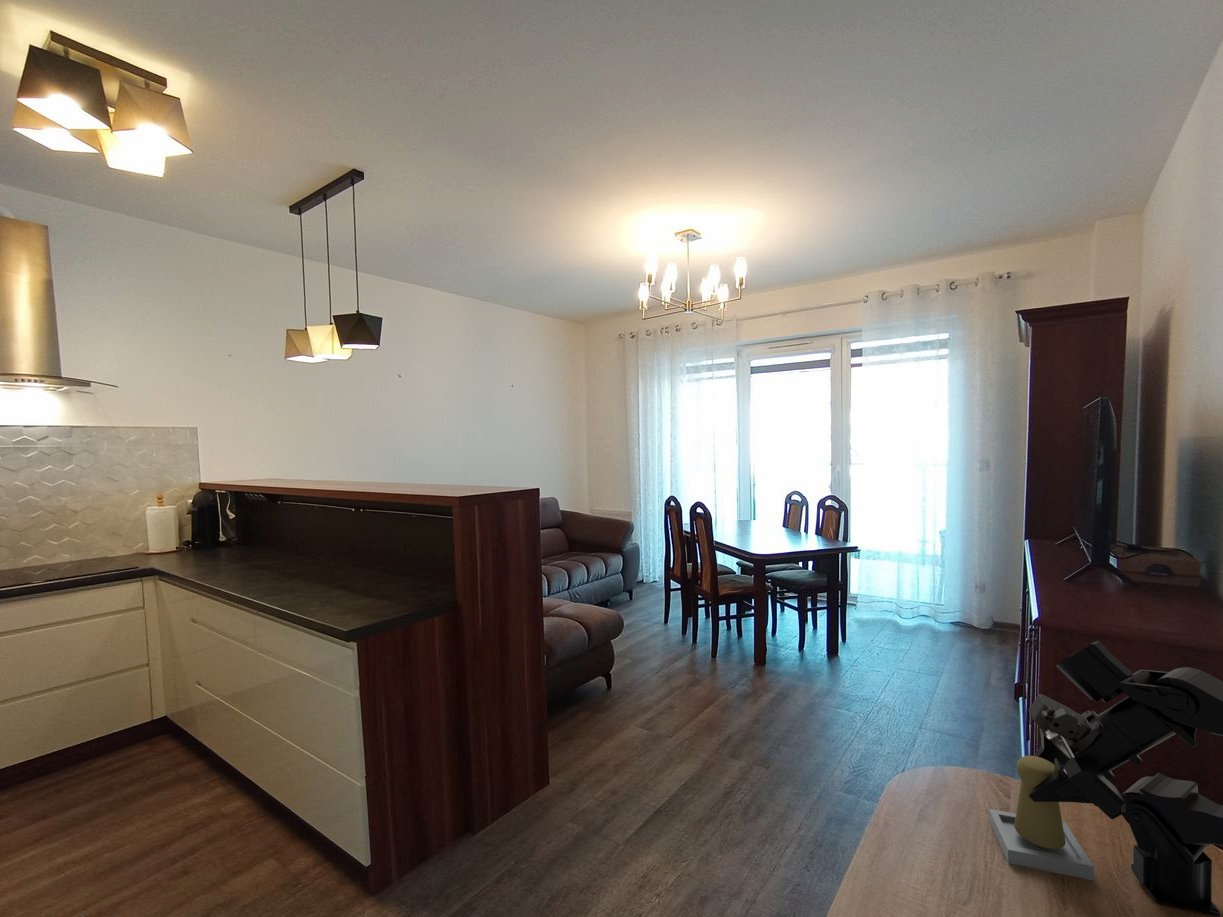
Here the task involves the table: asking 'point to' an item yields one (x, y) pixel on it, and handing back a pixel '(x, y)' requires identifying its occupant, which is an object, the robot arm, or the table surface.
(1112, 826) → the table surface
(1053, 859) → the gray tray
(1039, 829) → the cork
